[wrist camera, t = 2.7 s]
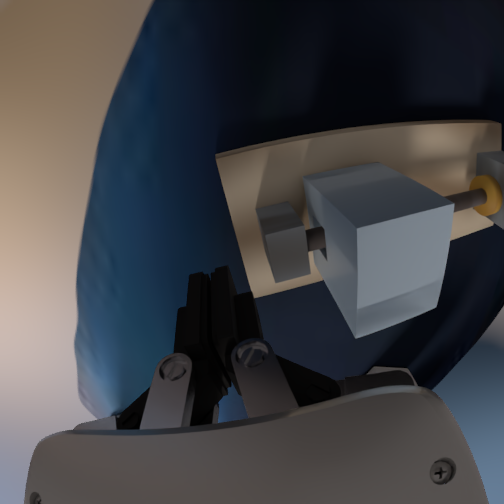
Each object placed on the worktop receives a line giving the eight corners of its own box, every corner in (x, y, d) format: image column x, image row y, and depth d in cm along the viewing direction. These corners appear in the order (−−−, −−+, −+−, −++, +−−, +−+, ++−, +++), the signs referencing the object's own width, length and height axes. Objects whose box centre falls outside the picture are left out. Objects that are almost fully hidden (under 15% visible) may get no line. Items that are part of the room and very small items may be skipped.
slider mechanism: (483, 218, 22) (534, 255, 15) (250, 285, 22) (267, 364, 15) (489, 120, 17) (553, 142, 10) (215, 154, 17) (217, 191, 10)
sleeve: (379, 245, 19) (436, 307, 13) (314, 263, 19) (355, 338, 13) (377, 162, 16) (454, 203, 10) (302, 176, 16) (356, 228, 10)
